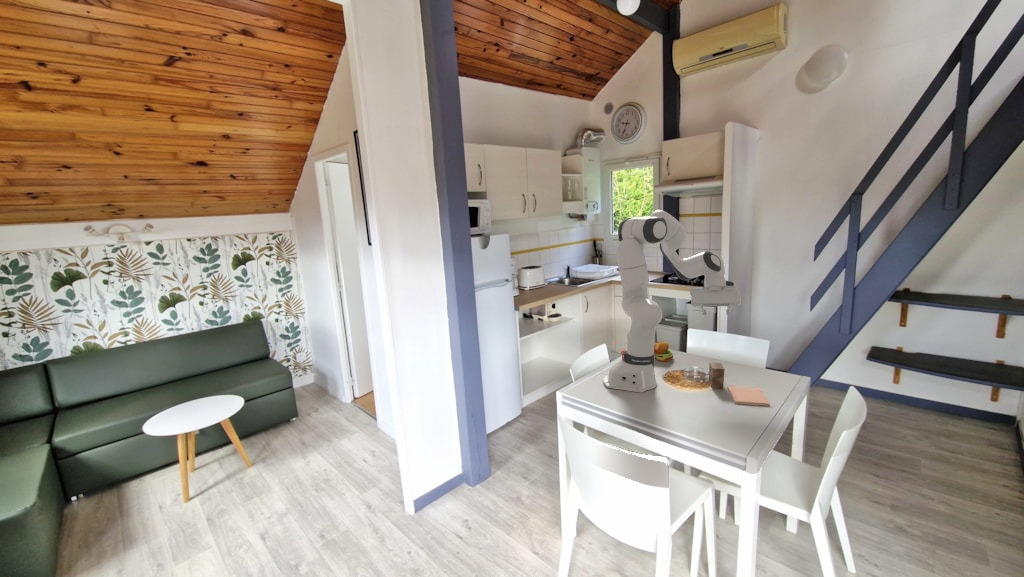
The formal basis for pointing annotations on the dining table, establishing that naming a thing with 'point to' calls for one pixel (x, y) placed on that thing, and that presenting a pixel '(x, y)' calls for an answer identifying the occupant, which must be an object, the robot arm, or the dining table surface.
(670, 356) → the cheeseburger
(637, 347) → the robot arm
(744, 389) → the mat
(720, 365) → the card box
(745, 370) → the dining table surface
